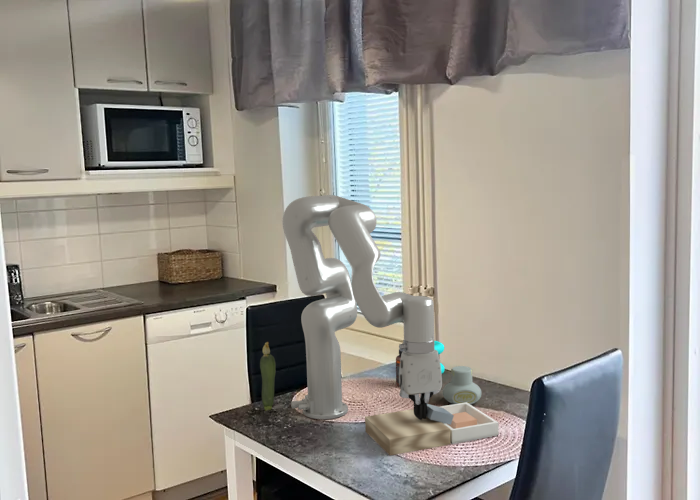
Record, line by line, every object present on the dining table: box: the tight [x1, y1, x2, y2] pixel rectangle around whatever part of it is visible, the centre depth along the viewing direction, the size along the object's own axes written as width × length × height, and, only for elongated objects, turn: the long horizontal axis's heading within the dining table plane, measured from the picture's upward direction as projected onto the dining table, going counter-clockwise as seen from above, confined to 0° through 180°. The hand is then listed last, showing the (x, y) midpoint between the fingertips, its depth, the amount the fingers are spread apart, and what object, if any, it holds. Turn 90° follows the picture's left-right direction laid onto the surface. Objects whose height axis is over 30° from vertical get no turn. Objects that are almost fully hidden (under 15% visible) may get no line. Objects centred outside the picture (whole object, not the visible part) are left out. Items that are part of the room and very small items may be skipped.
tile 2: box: [447, 412, 477, 429], centre depth 179 cm, size 6×6×2 cm
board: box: [364, 408, 451, 456], centre depth 174 cm, size 16×16×4 cm
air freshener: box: [442, 365, 482, 405], centre depth 198 cm, size 11×8×10 cm
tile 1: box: [426, 403, 454, 425], centre depth 176 cm, size 6×6×2 cm
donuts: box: [434, 340, 446, 375], centre depth 226 cm, size 10×10×10 cm
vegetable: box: [259, 341, 277, 412], centre depth 195 cm, size 4×4×20 cm
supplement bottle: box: [395, 348, 404, 387], centre depth 214 cm, size 6×6×11 cm
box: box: [440, 402, 500, 445], centre depth 179 cm, size 13×16×4 cm
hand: (420, 417), depth 175 cm, fingers closed
